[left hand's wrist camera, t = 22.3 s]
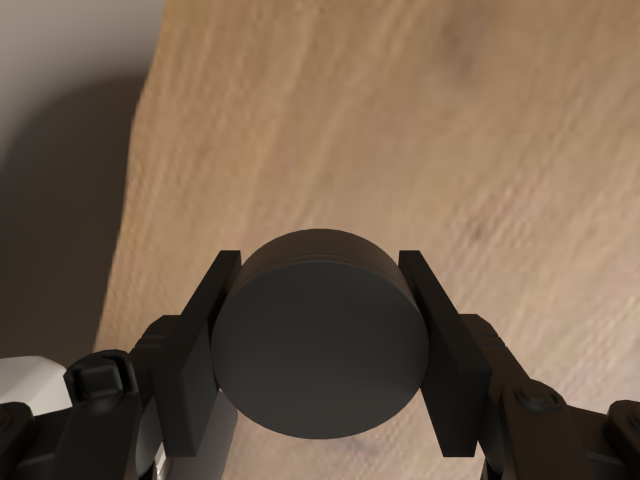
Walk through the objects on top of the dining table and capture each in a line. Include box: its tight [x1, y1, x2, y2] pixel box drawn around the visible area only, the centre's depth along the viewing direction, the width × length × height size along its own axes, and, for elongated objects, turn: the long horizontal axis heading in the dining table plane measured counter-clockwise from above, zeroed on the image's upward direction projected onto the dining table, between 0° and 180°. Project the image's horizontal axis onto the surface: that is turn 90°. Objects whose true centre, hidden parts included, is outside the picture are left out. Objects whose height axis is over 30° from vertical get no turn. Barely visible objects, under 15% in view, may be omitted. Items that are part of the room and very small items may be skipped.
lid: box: [210, 229, 430, 439], centre depth 11 cm, size 6×6×2 cm
